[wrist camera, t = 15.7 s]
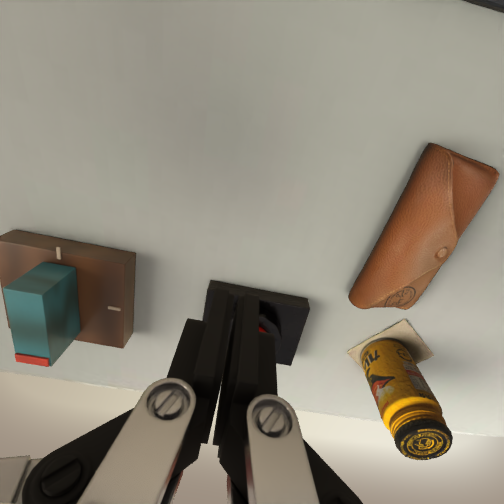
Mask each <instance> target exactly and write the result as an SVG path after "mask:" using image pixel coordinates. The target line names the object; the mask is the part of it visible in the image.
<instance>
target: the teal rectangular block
mask: <svg viewBox="0 0 504 504" xmlns="http://www.w3.org/2000/svg"><path fill="white" fill-rule="evenodd" d="M3 292H4V297H5V303H6V308H7V313H8V318H9V323H10V328H11V333H12V338H13V343H14V349H15V358H16V362H22V363H28V364H34V365H40V366H46V367H49V366H52V365H53V364H54V363H55V362H56V361H57V359H58V358H59V357H60V356H61V355H62V353H63V352H64V351H65V350H66V349H67V348H68V346H69V345H70V344H71V343H72V342H73V340H74V339H75V338H76V337H77V336H78V334H79V333H80V332H81V331H80V317H79V303H78V290H77V276H76V268H75V267H70V266H64V265H59V264H53V263H47V262H42V263H40V264H39V265H37V266H36V267H34V268H33V269H31V270H30V271H28V272H27V273H25V274H24V275H22V276H21V277H19V278H18V279H16V280H15V281H13V282H12V283H10V284H9V285H7V286H6V287H4V288H3Z"/></svg>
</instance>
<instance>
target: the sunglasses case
mask: <svg viewBox="0 0 504 504" xmlns="http://www.w3.org/2000/svg"><path fill="white" fill-rule="evenodd" d="M498 177H499V173H498V171H497V170H496V169H495V168H493V167H491V166H489V165H486V164H484V163H481V162H479V161H476V160H473V159H470V158H468V157H465V156H463V155H461V154H459V153H456V152H454V151H452V150H450V149H446V148H444V147H442V146H439V145H437V144H434V143H428V145H427V146H426V148H425V149H424V151H423V153H422V154H421V156H420V158H419V161H418V162H417V164H416V166H415V168H414V170H413V172H412V175H411V177H410V179H409V181H408V183H407V185H406V187H405V189H404V191H403V193H402V194H401V196H400V198H399V200H398V202H397V204H396V206H395V208H394V211H393V212H392V214H391V216H390V218H389V220H388V222H387V224H386V225H385V227H384V229H383V231H382V233H381V235H380V237H379V239H378V241H377V243H376V245H375V246H374V248H373V250H372V252H371V254H370V256H369V258H368V260H367V261H366V263H365V265H364V267H363V269H362V271H361V272H360V274H359V276H358V278H357V279H356V281H355V283H354V285H353V287H352V289H351V291H350V293H349V296H348V298H349V300H350V301H351V303H352V304H353V305H354V306H356V307H358V308H361V309H369V308H374V307H396V308H400V309H404V310H406V309H409V308H410V307H411V306H412V305H414V304H415V302H416V301H417V300H418V299H419V297H420V296H421V294H422V293H423V292H424V290H425V289H426V288H427V286H428V284H429V283H430V282H431V280H432V279H433V277H434V276H435V274H436V273H437V271H438V270H439V268H440V267H441V265H442V264H443V263H444V262H445V261H446V260H447V259H448V257H449V256H450V254H451V253H452V251H453V250H454V248H455V247H456V245H457V242H458V240H459V238H460V237H461V235H462V234H463V232H464V231H465V229H466V228H467V226H468V225H469V224H470V222H471V221H472V219H473V218H474V216H475V215H476V213H477V212H478V210H479V209H480V207H481V206H482V204H483V202H484V201H485V200H486V198H487V197H488V195H489V194H490V192H491V190H492V189H493V187H494V185H495V184H496V182H497V180H498Z"/></svg>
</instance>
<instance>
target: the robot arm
mask: <svg viewBox="0 0 504 504" xmlns="http://www.w3.org/2000/svg"><path fill="white" fill-rule="evenodd" d="M229 291H230V290H227V289H222V288H217V287H216V288H215V291H214V295H213V299H212V303H211V307H210V311H209V315H208V319H207V322H205V321H200V320H194V319H189V318H188V319H187V321H186V323H185V326H184V329H183V332H182V335H181V338H180V341H179V343H178V346H177V349H176V352H175V355H174V358H173V361H172V364H171V366H170V369H169V372H168V375H167V378H164V379H161V380H158V381H155V382H154V383H153V384H151V385H150V386H149V387H148V388H147V389H146V390H145V391H144V393H143V394H142V396H141V398H140V400H139V401H138V403H137V404H136V406H135V408H133V409H131V410H129V411H127V412H126V413H124V414H122V415H120V416H118V417H116V418H114V419H112V420H110V421H109V422H107V423H105V424H103V425H101V426H99V427H97V428H96V429H94V430H92V431H90V432H88V433H87V434H85V435H83V436H81V437H79V438H77V439H75V440H73V441H71V442H70V443H68V444H66V445H64V446H62V447H61V448H59V449H57V450H55V451H53V452H51V453H50V454H49V455H47V456H46V457H44V458H41V459H31V458H30V455H29V456H18V457H6V458H0V504H172V502H173V500H174V497H175V494H176V491H177V489H178V486H179V483H180V480H181V477H182V475H183V470H184V469H185V468H186V467H188V466H189V465H190V464H192V463H193V462H194V461H196V460H197V459H198V455H199V450H200V446H201V443H205V444H207V443H208V439H209V434H210V430H211V426H212V421H213V417H214V412H215V408H216V404H217V399H218V395H219V391H220V397H219V405H218V411H217V418H216V425H215V431H214V438H213V445H217V446H219V449H218V458H220V461H219V462H220V464H221V465H222V467H223V468H224V470H225V471H226V472H227V474H228V475H227V498H228V504H363V503H362V502H361V500H360V499H359V498H358V497H357V496H356V494H355V493H354V492H353V491H352V490H351V489H350V488H349V487H348V486H347V485H346V484H345V483H344V482H343V481H342V480H341V479H340V477H339V476H337V474H336V473H335V472H334V471H333V470H332V469H331V468H330V467H329V466H328V465H327V464H326V463H325V462H324V461H323V459H321V458H320V456H319V455H318V454H317V453H316V452H315V451H314V450H313V449H312V448H311V447H310V446H309V445H308V443H307V442H306V441H305V440H304V439H303V438H302V434H301V430H300V426H299V422H298V418H297V416H296V413H295V411H294V409H293V408H292V407H291V405H290V404H289V403H288V402H287V401H285V400H284V399H283V398H280V397H278V394H277V374H276V354H275V337H274V334H271V333H266V332H260V331H259V295H254V294H248V293H245V295H244V296H239V297H238V302H237V306H236V310H235V315H234V319H233V324H232V328H231V333H230V337H229V342H228V336H229V329H230V323H231V316H232V309H233V302H234V295H233V294H229ZM227 343H228V346H227ZM226 350H227V351H226ZM222 376H223V377H222ZM221 382H222V384H221ZM220 386H221V390H220Z"/></svg>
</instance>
